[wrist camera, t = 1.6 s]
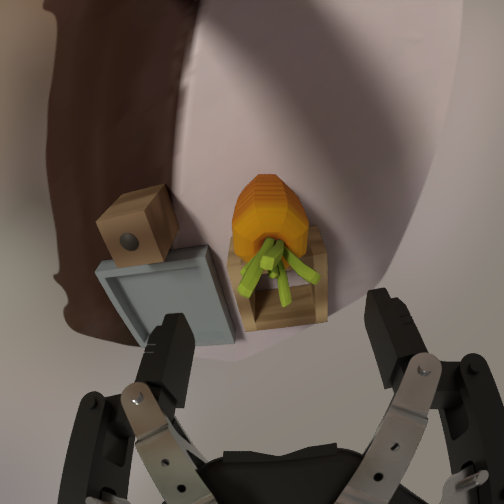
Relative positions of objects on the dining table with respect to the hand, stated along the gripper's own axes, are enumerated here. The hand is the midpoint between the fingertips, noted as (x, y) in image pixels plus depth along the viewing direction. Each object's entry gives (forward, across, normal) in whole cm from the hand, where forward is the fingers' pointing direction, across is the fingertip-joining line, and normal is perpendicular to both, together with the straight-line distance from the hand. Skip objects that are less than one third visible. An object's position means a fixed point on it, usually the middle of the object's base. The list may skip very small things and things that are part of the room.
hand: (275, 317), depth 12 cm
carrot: (+17, 0, 0) cm, 17 cm away
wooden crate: (+17, 0, +10) cm, 19 cm away
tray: (+17, +14, +13) cm, 25 cm away
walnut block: (+17, +12, +1) cm, 21 cm away
